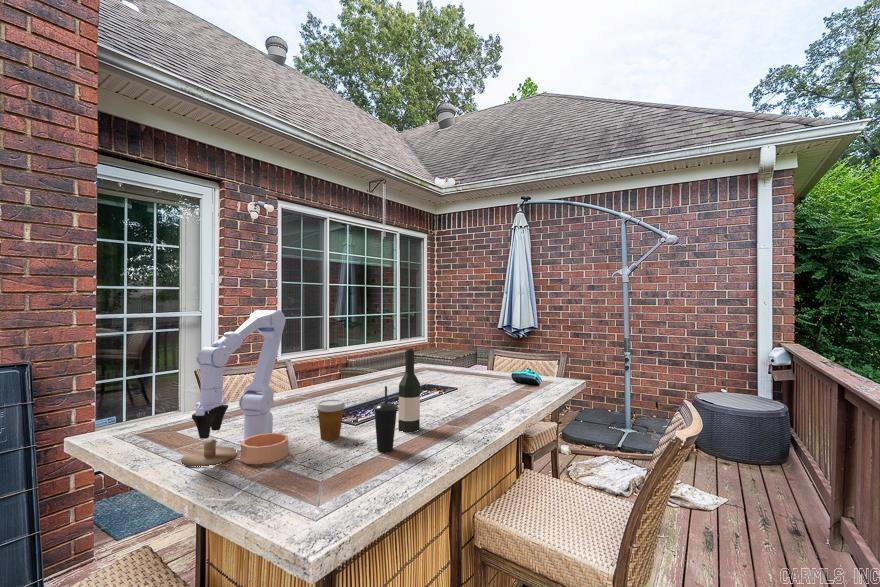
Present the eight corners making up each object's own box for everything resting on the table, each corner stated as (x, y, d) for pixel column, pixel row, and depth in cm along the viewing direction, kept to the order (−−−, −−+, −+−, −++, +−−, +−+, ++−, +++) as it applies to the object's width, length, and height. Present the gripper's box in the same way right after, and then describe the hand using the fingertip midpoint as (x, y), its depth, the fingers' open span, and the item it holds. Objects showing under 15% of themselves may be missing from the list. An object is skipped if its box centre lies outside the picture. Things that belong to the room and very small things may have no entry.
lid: (205, 447, 124) (205, 432, 124) (246, 450, 122) (246, 434, 122) (168, 465, 110) (169, 448, 110) (214, 468, 108) (215, 450, 109)
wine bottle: (394, 427, 148) (395, 347, 149) (415, 425, 152) (416, 346, 153) (402, 434, 141) (403, 349, 142) (423, 431, 144) (424, 348, 145)
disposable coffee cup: (315, 443, 131) (316, 406, 131) (316, 434, 140) (317, 400, 140) (344, 440, 133) (345, 404, 134) (343, 432, 142) (344, 398, 143)
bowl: (257, 448, 125) (258, 432, 126) (295, 450, 124) (295, 434, 124) (231, 463, 113) (231, 446, 113) (273, 466, 111) (273, 448, 111)
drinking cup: (392, 455, 120) (393, 389, 121) (369, 453, 122) (370, 388, 122) (400, 446, 128) (401, 384, 128) (377, 445, 129) (378, 383, 130)
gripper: (208, 383, 124) (206, 427, 123) (184, 392, 109) (182, 442, 109) (232, 383, 125) (230, 426, 124) (211, 392, 110) (210, 441, 110)
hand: (210, 434), depth 117 cm, fingers open, 7 cm apart
